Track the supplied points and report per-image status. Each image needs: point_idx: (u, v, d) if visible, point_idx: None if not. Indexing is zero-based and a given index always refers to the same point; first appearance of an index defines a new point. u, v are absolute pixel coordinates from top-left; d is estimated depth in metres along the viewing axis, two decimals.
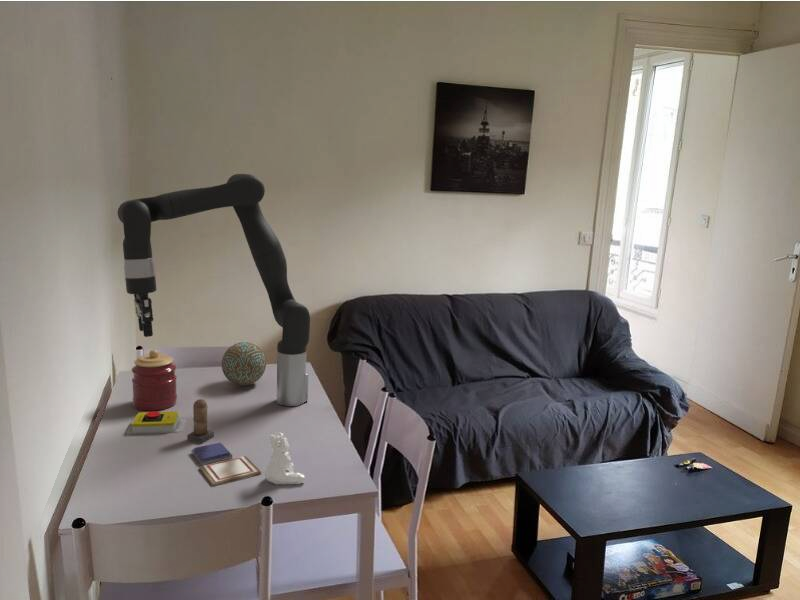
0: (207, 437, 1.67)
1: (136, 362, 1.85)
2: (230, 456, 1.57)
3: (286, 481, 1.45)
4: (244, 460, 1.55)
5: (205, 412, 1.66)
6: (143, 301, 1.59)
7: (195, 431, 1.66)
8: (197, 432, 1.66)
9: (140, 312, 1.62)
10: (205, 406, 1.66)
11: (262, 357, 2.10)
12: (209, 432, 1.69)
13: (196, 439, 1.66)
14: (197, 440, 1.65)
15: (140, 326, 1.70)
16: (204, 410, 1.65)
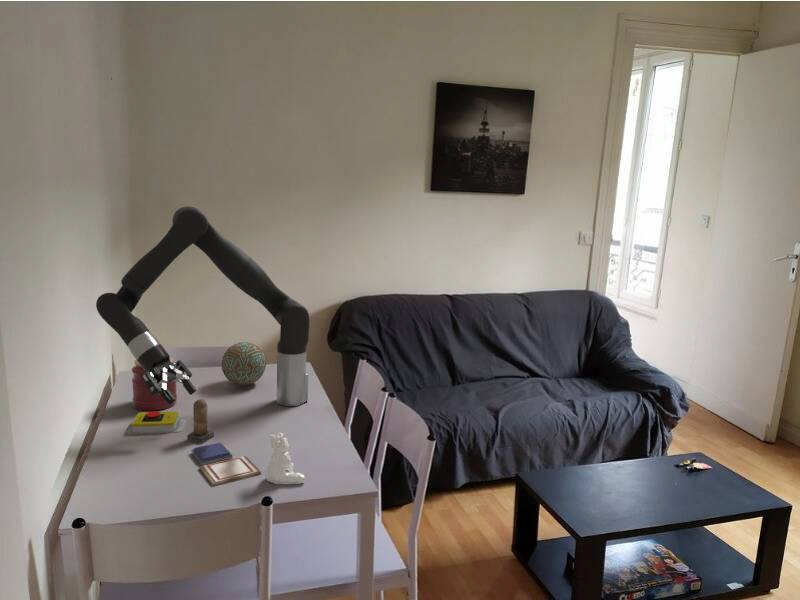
0: (207, 437, 1.67)
1: (136, 362, 1.85)
2: (230, 456, 1.57)
3: (286, 481, 1.45)
4: (244, 460, 1.55)
5: (205, 412, 1.66)
6: (143, 377, 1.63)
7: (195, 431, 1.66)
8: (197, 432, 1.66)
9: None
10: (205, 406, 1.66)
11: (262, 357, 2.10)
12: (209, 432, 1.69)
13: (196, 439, 1.66)
14: (197, 440, 1.65)
15: (188, 391, 1.72)
16: (204, 410, 1.65)
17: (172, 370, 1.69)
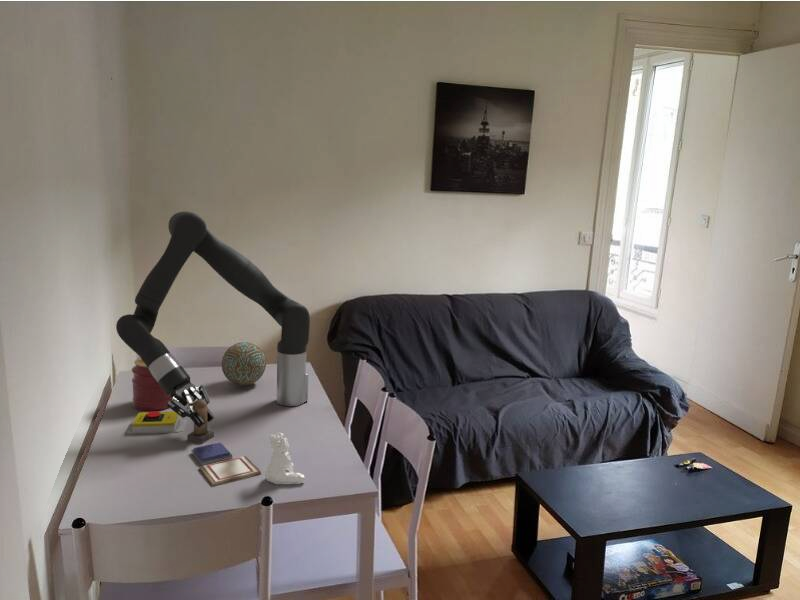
0: (207, 437, 1.67)
1: (136, 362, 1.85)
2: (230, 456, 1.57)
3: (286, 481, 1.45)
4: (244, 460, 1.55)
5: (205, 412, 1.66)
6: (168, 404, 1.62)
7: (195, 431, 1.66)
8: (197, 432, 1.66)
9: None
10: (205, 406, 1.66)
11: (262, 357, 2.10)
12: (209, 432, 1.69)
13: (196, 439, 1.66)
14: (197, 440, 1.65)
15: None
16: (204, 410, 1.65)
17: (192, 392, 1.68)
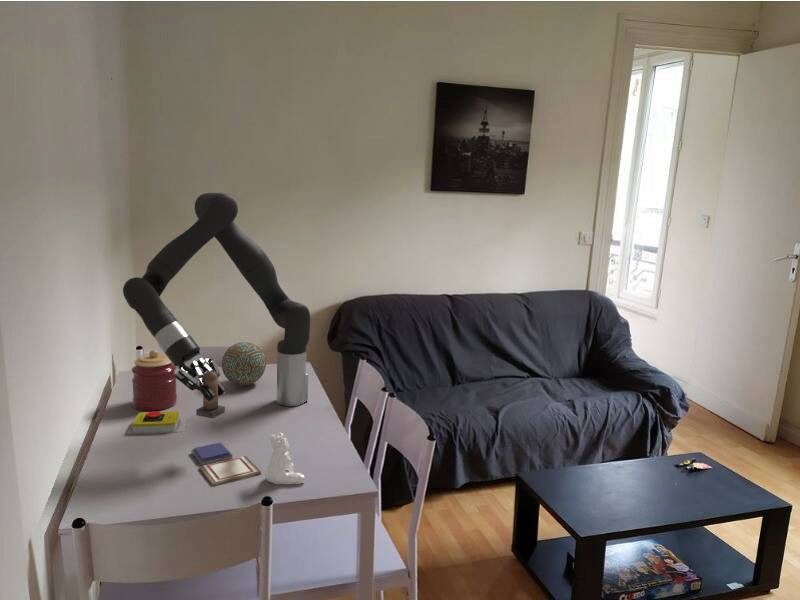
0: (218, 412, 1.55)
1: (136, 362, 1.85)
2: (230, 456, 1.57)
3: (286, 481, 1.45)
4: (244, 460, 1.55)
5: (216, 385, 1.54)
6: (176, 375, 1.49)
7: (205, 405, 1.54)
8: (207, 406, 1.54)
9: None
10: (216, 378, 1.53)
11: (262, 357, 2.10)
12: (220, 407, 1.56)
13: (206, 414, 1.53)
14: (207, 415, 1.53)
15: None
16: (215, 383, 1.53)
17: (201, 364, 1.55)
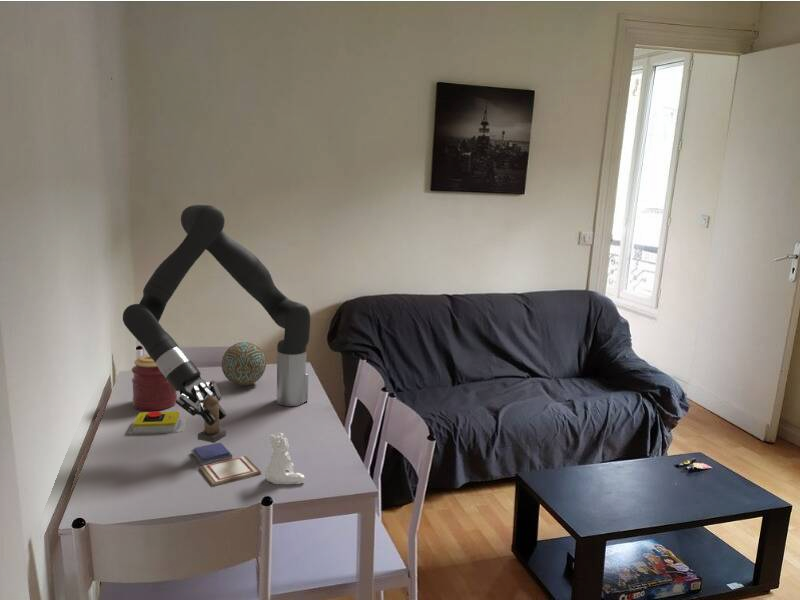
0: (219, 436, 1.56)
1: (136, 362, 1.85)
2: (230, 456, 1.57)
3: (286, 481, 1.45)
4: (244, 460, 1.55)
5: (217, 409, 1.55)
6: (177, 401, 1.51)
7: (206, 430, 1.55)
8: (208, 431, 1.55)
9: None
10: (217, 403, 1.55)
11: (262, 357, 2.10)
12: (221, 431, 1.58)
13: (207, 438, 1.55)
14: (208, 439, 1.55)
15: None
16: (216, 407, 1.55)
17: (202, 388, 1.57)
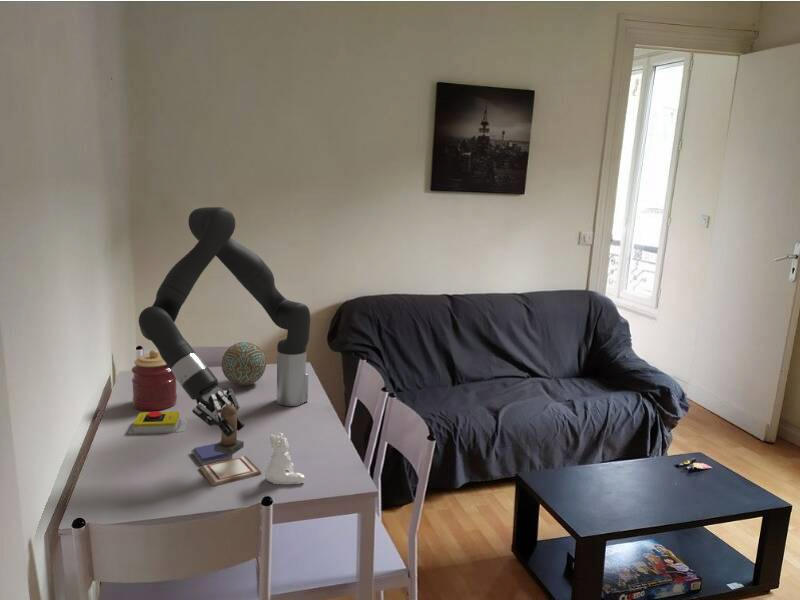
0: (236, 448, 1.48)
1: (136, 362, 1.85)
2: (230, 456, 1.57)
3: (286, 481, 1.45)
4: (244, 460, 1.55)
5: (235, 419, 1.47)
6: (194, 411, 1.42)
7: (223, 441, 1.47)
8: (226, 442, 1.47)
9: None
10: (235, 413, 1.47)
11: (262, 357, 2.10)
12: (238, 442, 1.50)
13: (224, 450, 1.46)
14: (225, 451, 1.46)
15: None
16: (234, 417, 1.46)
17: (220, 397, 1.49)
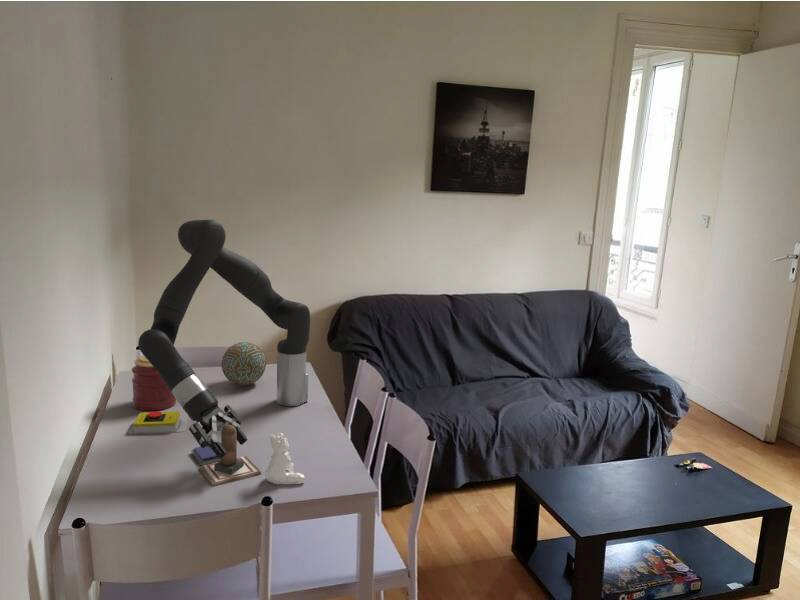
0: (236, 467, 1.49)
1: (136, 362, 1.85)
2: None
3: (286, 481, 1.45)
4: (244, 460, 1.55)
5: (234, 439, 1.48)
6: (190, 428, 1.44)
7: (223, 461, 1.48)
8: (226, 461, 1.48)
9: None
10: (234, 433, 1.48)
11: (262, 357, 2.10)
12: (238, 461, 1.51)
13: (224, 470, 1.48)
14: (226, 471, 1.47)
15: (238, 440, 1.53)
16: (233, 437, 1.48)
17: (221, 418, 1.50)
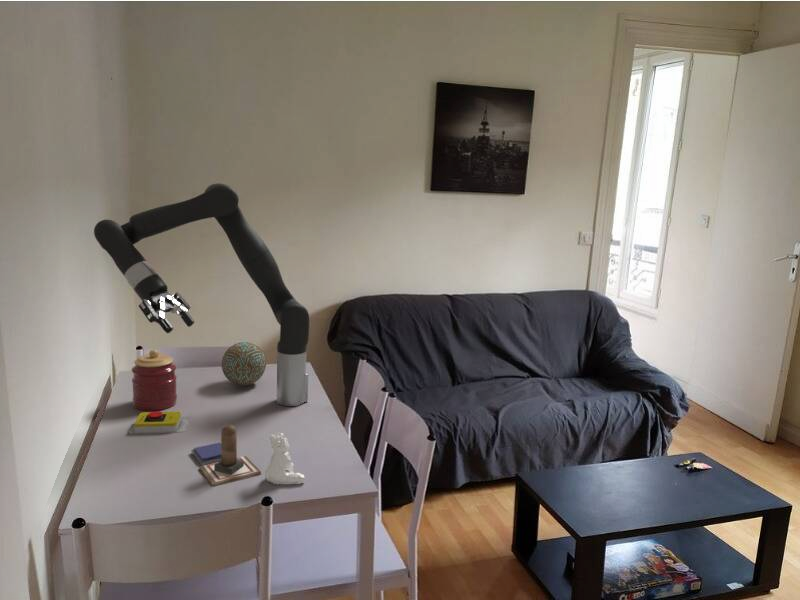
0: (236, 467, 1.49)
1: (136, 362, 1.85)
2: None
3: (286, 481, 1.45)
4: (244, 460, 1.55)
5: (234, 439, 1.48)
6: (140, 305, 1.59)
7: (223, 461, 1.48)
8: (226, 461, 1.48)
9: None
10: (234, 433, 1.48)
11: (262, 357, 2.10)
12: (238, 461, 1.51)
13: (224, 470, 1.48)
14: (226, 471, 1.47)
15: (186, 323, 1.68)
16: (233, 437, 1.48)
17: (170, 300, 1.66)
